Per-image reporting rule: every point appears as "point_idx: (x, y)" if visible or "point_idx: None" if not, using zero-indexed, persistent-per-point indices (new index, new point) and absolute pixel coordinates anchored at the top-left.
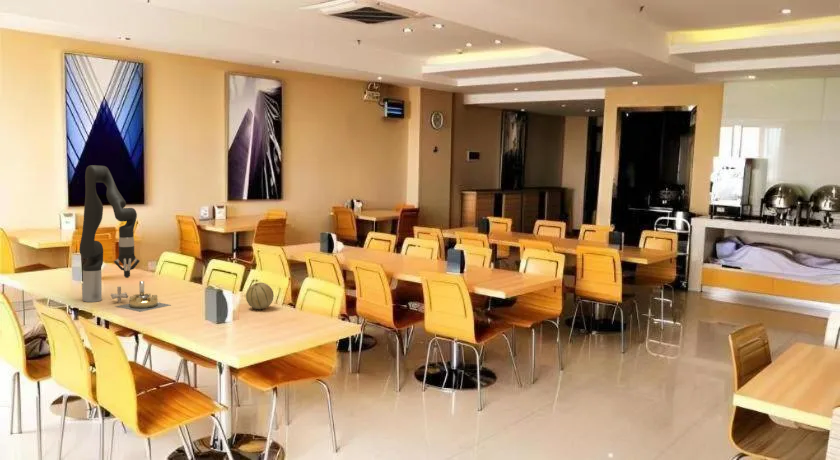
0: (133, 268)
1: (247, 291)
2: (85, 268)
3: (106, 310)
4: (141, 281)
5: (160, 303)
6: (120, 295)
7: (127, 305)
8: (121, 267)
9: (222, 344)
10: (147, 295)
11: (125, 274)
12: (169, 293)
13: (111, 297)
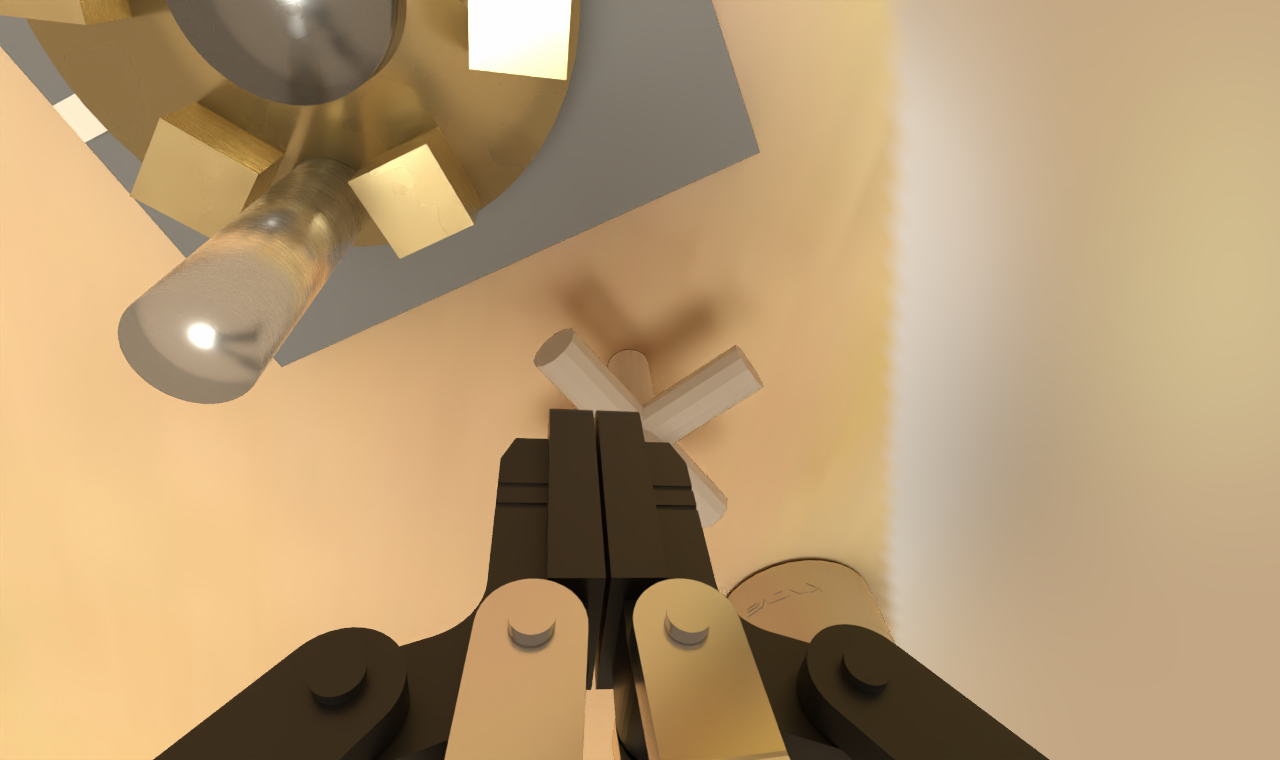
0: (294, 674)
1: None
2: None
3: (863, 120)
4: (201, 339)
5: (31, 37)
6: (633, 409)
7: (584, 136)
8: (911, 745)
9: None
10: (186, 19)
11: (657, 494)
12: (39, 669)
13: (759, 379)
